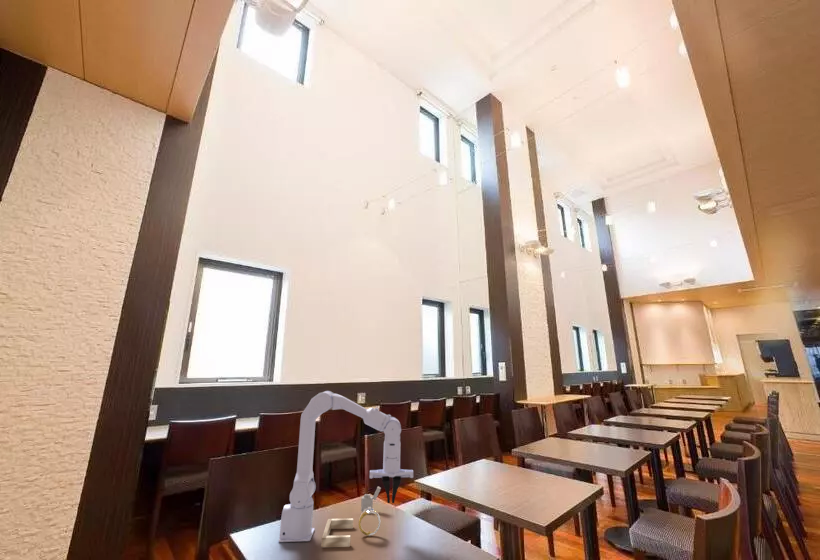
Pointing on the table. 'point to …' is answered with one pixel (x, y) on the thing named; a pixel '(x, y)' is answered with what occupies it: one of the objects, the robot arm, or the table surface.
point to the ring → (369, 510)
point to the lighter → (369, 500)
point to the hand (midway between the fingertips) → (390, 502)
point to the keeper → (340, 539)
